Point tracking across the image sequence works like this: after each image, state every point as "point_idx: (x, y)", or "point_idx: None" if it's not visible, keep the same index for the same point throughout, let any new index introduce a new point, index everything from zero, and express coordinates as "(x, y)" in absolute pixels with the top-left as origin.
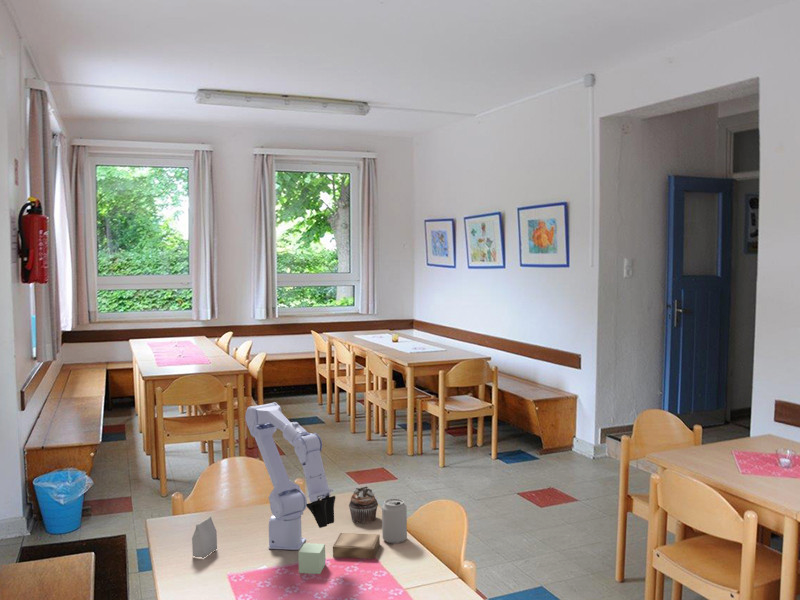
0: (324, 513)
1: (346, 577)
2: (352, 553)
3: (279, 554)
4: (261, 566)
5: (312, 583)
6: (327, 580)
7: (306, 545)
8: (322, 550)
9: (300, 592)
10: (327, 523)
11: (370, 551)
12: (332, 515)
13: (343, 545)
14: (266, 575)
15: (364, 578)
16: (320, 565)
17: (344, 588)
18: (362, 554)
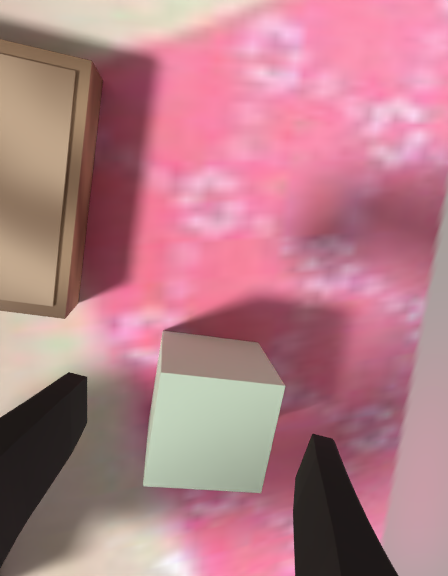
0: (387, 558)
1: (302, 224)
2: (85, 202)
3: (52, 536)
4: (171, 572)
5: (337, 362)
6: (320, 305)
7: (176, 469)
8: (220, 373)
9: (401, 395)
10: (84, 423)
11: (93, 89)
12: (47, 420)
13: (52, 258)
14: (251, 537)
15: (322, 138)
16: (257, 354)
17: (399, 229)
18: (92, 143)
